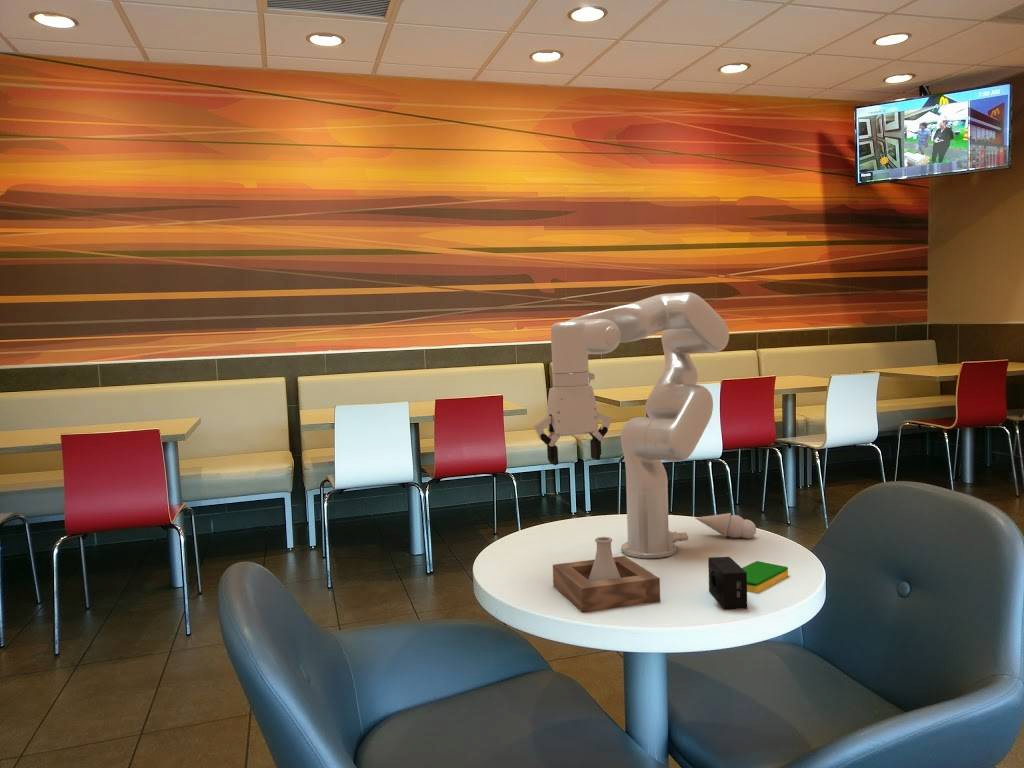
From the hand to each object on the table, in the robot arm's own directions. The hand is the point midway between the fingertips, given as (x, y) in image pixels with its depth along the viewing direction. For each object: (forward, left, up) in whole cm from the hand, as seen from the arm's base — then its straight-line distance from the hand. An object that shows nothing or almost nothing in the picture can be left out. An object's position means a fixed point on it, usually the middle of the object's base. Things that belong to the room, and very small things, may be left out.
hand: (575, 461), depth 161 cm
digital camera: (-21, +24, -25) cm, 40 cm away
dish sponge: (-33, +16, -25) cm, 44 cm away
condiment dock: (-1, +12, -25) cm, 27 cm away
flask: (-1, +12, -24) cm, 27 cm away
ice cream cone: (-45, -15, -25) cm, 54 cm away
